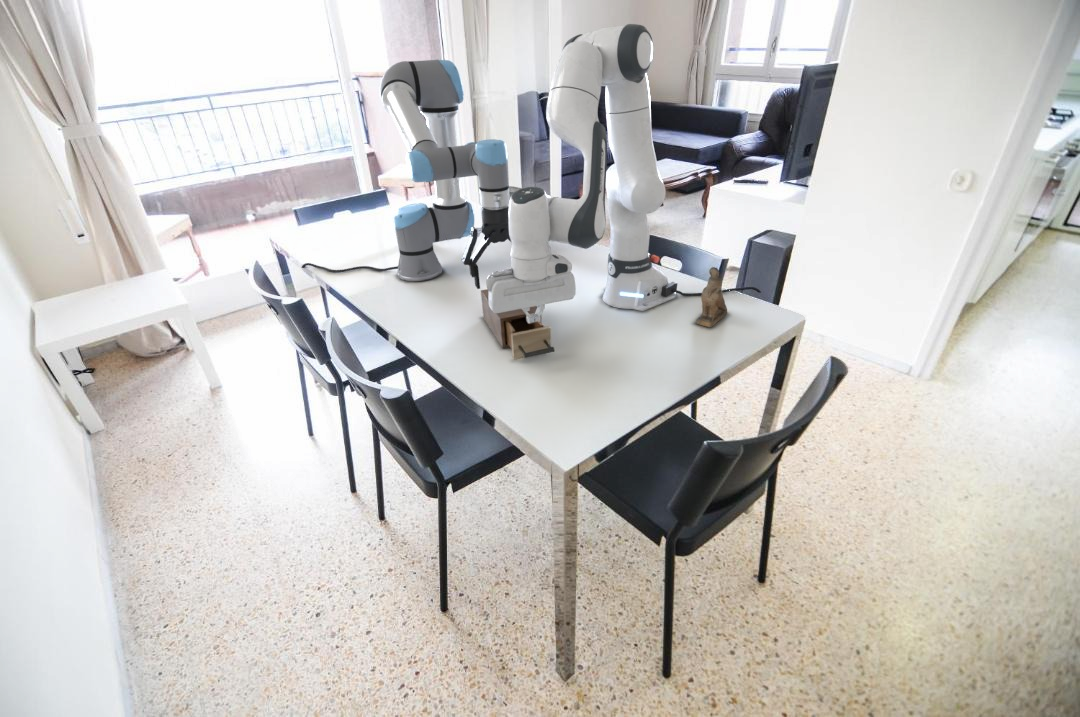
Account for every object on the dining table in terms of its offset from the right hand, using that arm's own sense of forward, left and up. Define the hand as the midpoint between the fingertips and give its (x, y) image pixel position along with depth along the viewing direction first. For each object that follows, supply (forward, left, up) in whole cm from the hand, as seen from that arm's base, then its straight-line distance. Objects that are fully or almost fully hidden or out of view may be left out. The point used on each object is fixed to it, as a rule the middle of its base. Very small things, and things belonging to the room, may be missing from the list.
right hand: (533, 321), depth 117 cm
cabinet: (-2, -20, -12) cm, 23 cm away
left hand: (-3, -26, 0) cm, 27 cm away
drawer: (-1, -8, -11) cm, 14 cm away
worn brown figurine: (-54, +3, -12) cm, 55 cm away
